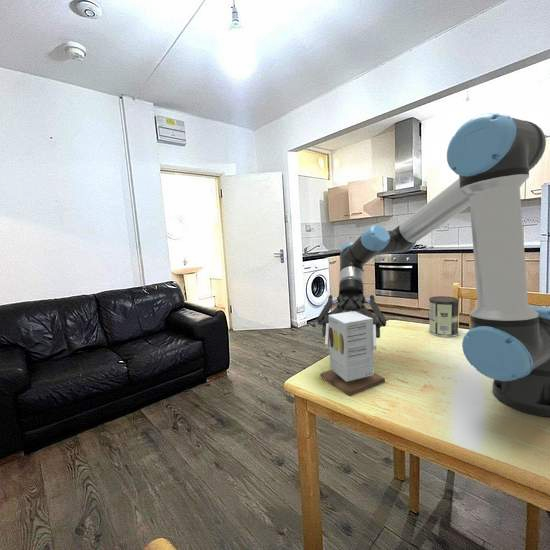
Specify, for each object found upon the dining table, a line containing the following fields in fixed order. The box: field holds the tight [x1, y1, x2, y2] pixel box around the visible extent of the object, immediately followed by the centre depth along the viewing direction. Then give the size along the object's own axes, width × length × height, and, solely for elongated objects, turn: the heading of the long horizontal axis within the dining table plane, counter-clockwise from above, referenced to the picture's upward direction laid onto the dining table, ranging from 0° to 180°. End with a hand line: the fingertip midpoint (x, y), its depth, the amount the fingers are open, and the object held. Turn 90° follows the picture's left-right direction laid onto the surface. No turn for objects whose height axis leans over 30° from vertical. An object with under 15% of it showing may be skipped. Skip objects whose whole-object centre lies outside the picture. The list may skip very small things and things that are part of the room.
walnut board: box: [320, 369, 386, 397], centre depth 88 cm, size 13×13×1 cm
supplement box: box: [328, 310, 375, 382], centre depth 86 cm, size 10×9×17 cm
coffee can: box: [428, 295, 460, 338], centre depth 120 cm, size 10×10×14 cm
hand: (350, 346), depth 84 cm, fingers closed on supplement box, 12 cm apart
